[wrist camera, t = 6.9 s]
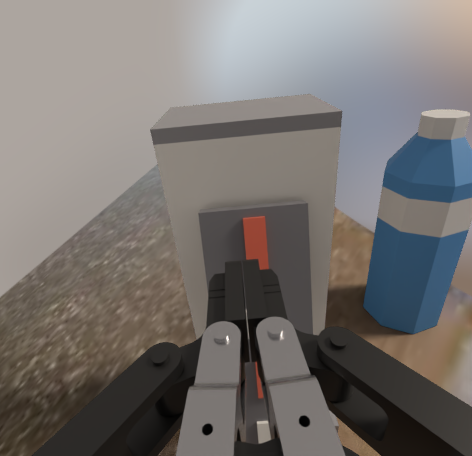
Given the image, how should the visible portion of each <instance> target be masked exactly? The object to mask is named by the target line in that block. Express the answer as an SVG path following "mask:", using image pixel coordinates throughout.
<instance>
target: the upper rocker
mask: <svg viewBox="0 0 472 456" xmlns="http://www.w3.org/2000/svg"><path fill="white" fill-rule="evenodd" d="M198 215H199V224H200V232H201V240H202V248H203V256H204V264H205V273H206V281H207V289H208V292H209V281H210V280H211V278H212V277H213V275H214V274H219V273H225V262H227V261H238V260H241V265H242V275H243V285H244V274H243V262H242V260H249V259H258V260H259V267H260V270H263V269H272V270H273V271H274V273H275V274H276V275H277V276H278V280H279V285H280V289H281V293H282V297H283V301H284V306H285V310H286V314H287V318H288V321H289V322H290V323H292V325H293V326H294V328H295V329H297V330H299V331H301V332H304V333H307V334H313V318H312V293H311V267H310V242H309V216H308V203H307V202H306V201H304V200H297V201H286V202H276V203H265V204H254V205H243V206H232V207H221V208H210V209H201V210H200V211H199V213H198ZM244 295H245V286H244ZM245 307H246V298H245ZM246 319H247V310H246ZM247 332H248V344H249V354H251V350H250V341H249V331H248V321H247Z"/></svg>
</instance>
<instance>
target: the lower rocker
mask: <svg viewBox="0 0 472 456" xmlns="http://www.w3.org/2000/svg"><path fill="white" fill-rule="evenodd" d="M249 356H250V362H247V363H245V374H246V443H251V444H262V443H264V442H267V441H269V440H271V436H270V430H269V424H268V419H267V414H266V409H265V403H264V398H263V393H262V388H261V382H260V378H259V375H258V370H257V362H252V360H251V354H249Z"/></svg>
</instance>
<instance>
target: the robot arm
mask: <svg viewBox="0 0 472 456" xmlns="http://www.w3.org/2000/svg"><path fill="white" fill-rule="evenodd" d="M242 262H243V274H244V285H243V275H242V265H241V260H238V261H227V262H225V273H219V274H214V275H213V277H212V278H211V280H210V281H209V292H208V307H207V321H206V329H205V331H204V333H203V334H202V336H201V337H200V338H198V339H197V340H196V341H194V342H192V343H190V344H188V345H185V346H182V347H180V348H179V347H178V346H177V345H175V344H173V343H169V342H163V343H159V344H156V345H154V346H152V347H151V348H149V349H148V350H147V351H146V352H145V353H144V354H143V355H141V356H140V357H139V358H138V359H137V360H136V361H135V362H134V363H133V364H132V365H130V366H129V367H128V368H127V369H126V370H125V371H124V372H123V373H122V374H121V375H120V376H118V377H117V378H116V379H115V380H114V381H113V382H112V383H111V384H110V385H109V386H107V387H106V388H105V389H104V390H103V391H102V392H101V393H100V394H99V395H98V396H96V397H95V398H94V399H93V400H92V401H91V402H90V403H89V404H88V405H87V406H86V407H84V408H83V409H82V410H81V411H80V412H79V413H78V414H77V415H76V416H75V417H73V418H72V419H71V420H70V421H69V422H68V423H67V424H66V425H65V426H64V427H62V428H61V429H60V430H59V431H58V432H57V433H56V434H55V435H54V436H53V437H52V438H50V439H49V440H48V441H47V442H46V443H45V444H44V445H43V446H42V447H41V448H39V449H38V450H37V451H36V452H35V453H34V454H33V455H32V456H158V454H159V453H160V452H161V451H162V449H163V448H164V447H165V446H166V444H167V443H168V442H169V441H170V439H171V438H172V437H173V436H174V435H175V433H176V432H177V431H178V430H179V428H180V427H181V431H180V436H179V441H178V447H177V452H176V456H359V455H358V454H356V453H355V452H353V451H352V450H350V449H348V448H346V447H344V446H342V445H341V442H340V439H339V437H338V434H337V431H336V428H335V426H334V423H333V420H332V418H331V415H330V412H329V411H331V412H332V413H333V414H334V415H335V416H336V417H338V418H339V419H340V420H341V421H342V422H343V423H344V424H346V425H347V426H348V427H349V428H350V429H351V430H352V431H354V432H355V433H356V434H357V435H358V436H359V437H360V438H362V439H363V440H364V441H365V442H366V443H367V444H368V445H370V446H371V447H372V448H373V449H374V450H375V451H377V452H378V453H379V454H380V455H381V456H472V407H471V406H469V405H468V404H466V403H465V402H463V401H461V400H460V399H458V398H457V397H455V396H453V395H452V394H450V393H449V392H447V391H445V390H444V389H442V388H441V387H439V386H437V385H436V384H434V383H433V382H431V381H429V380H428V379H426V378H425V377H423V376H422V375H420V374H418V373H417V372H415V371H414V370H412V369H410V368H409V367H407V366H406V365H404V364H402V363H401V362H399V361H398V360H396V359H394V358H393V357H391V356H390V355H388V354H386V353H385V352H383V351H382V350H380V349H378V348H377V347H375V346H374V345H372V344H370V343H369V342H367V341H366V340H364V339H362V338H361V337H359V336H358V335H356V334H354V333H353V332H351V331H350V330H348V329H345V328H342V327H328V328H326V329H324V330H322V331H321V332H320V334H319V336H318V335H313V334H307V333H304V332H301V331H299V330H297V329H295V328H294V326H293V325H292V323H290V322H289V321H288V318H287V314H286V310H285V306H284V301H283V297H282V293H281V289H280V285H279V280H278V276H277V275H276V274H275V273H274V271H273V270H272V269H263V270H260V267H259V260H258V259H249V260H242ZM244 286H245V295H244ZM245 298H246V307H245ZM246 310H247V319H246ZM247 321H248V331H249V341H250V350H251V360H252V362H257V370H258V375H259V378H260V382H261V388H262V393H263V398H264V403H265V409H266V414H267V419H268V424H269V430H270V436H271V440H269V441H267V442H264V443H262V444H251V443H246V374H245V363H247V362H250V356H249V344H248V332H247Z"/></svg>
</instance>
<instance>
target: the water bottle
mask: <svg viewBox="0 0 472 456" xmlns="http://www.w3.org/2000/svg"><path fill="white" fill-rule="evenodd" d="M469 119H470V114H469V112H466V111H459V110H430V111H425V112H422V114H421V119H420V124H419V129H418V132H417V133H416V134H415V135H414V136H413V137H412V138H411V139H410V140H409V141H408V142H407V143H406V144H405V145H404V146H403V147H402V148H401V149H400V150H398V151H397V153H395V154H394V155H393V156H392V157H391V158H390V159H389V160H388V162H387V166H386V169H385V173H384V179H383V186H382V192H381V198H380V204H379V210H378V217H377V223H376V229H375V235H374V242H373V248H372V254H371V260H370V266H369V273H368V279H367V285H366V291H365V298H364V304H363V307H364V308H365V309H366V310H367V311H368V312H369V314H370V315H371V316H372V317H373V318H374V319H375V320H376V321H377V322H378V323H379V324H380V325H381V326H385V327H388V328H392V329H395V330H399V331H403V332H406V333H410V334H415V333H418V332H421V331H423V330H426V329H429V328H431V327H434V326H436V325H437V323H438V320H439V317H440V314H441V311H442V308H443V305H444V302H445V299H446V296H447V293H448V290H449V287H450V284H451V281H452V278H453V275H454V272H455V268H456V266H457V263H458V260H459V257H460V254H461V251H462V248H463V245H464V242H465V239H466V236H467V233H468V230H469V227H470V224H471V221H472V149H471V147H470V145H469V144H468V142H467V140H466V138H465V133H466V130H467V126H468V123H469Z"/></svg>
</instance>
